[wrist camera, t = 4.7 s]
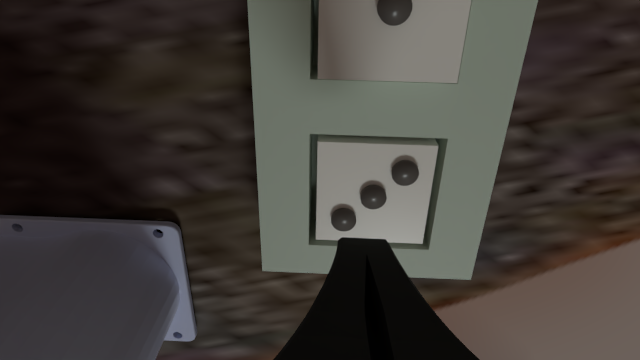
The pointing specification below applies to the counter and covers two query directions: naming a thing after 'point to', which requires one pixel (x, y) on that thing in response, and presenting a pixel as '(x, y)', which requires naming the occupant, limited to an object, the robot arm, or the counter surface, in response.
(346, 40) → the tile one pip
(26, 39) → the counter surface
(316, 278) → the counter surface
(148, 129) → the counter surface
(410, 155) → the tile three pips
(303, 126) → the button board
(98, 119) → the counter surface
